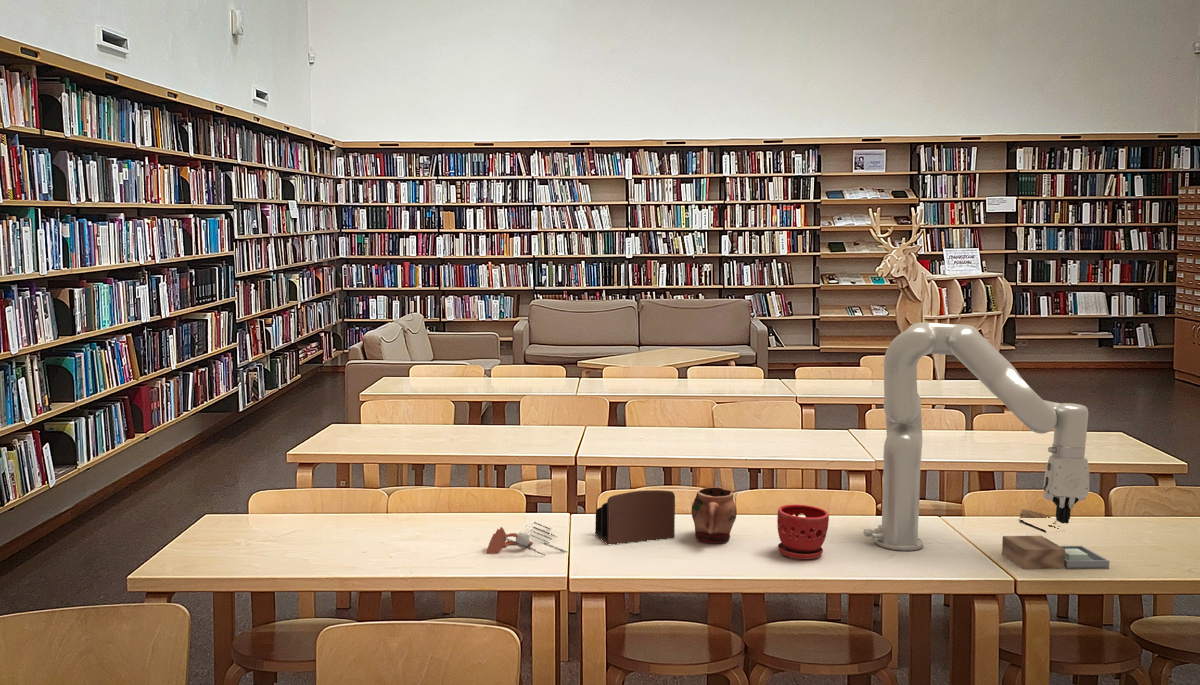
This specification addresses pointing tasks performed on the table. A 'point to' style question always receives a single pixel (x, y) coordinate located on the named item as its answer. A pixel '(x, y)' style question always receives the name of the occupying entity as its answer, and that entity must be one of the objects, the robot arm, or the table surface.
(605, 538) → the letter holder
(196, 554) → the table surface
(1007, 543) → the brown wooden box
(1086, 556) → the tile
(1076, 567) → the box
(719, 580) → the table surface
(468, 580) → the table surface
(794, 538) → the plant pot
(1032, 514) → the wooden fragment
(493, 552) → the brown and grey pieces
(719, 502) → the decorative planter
